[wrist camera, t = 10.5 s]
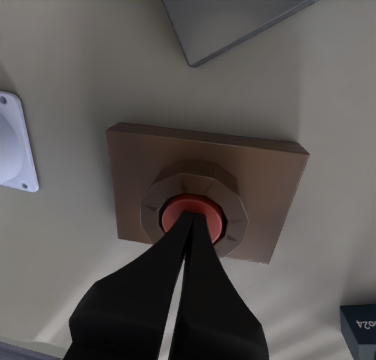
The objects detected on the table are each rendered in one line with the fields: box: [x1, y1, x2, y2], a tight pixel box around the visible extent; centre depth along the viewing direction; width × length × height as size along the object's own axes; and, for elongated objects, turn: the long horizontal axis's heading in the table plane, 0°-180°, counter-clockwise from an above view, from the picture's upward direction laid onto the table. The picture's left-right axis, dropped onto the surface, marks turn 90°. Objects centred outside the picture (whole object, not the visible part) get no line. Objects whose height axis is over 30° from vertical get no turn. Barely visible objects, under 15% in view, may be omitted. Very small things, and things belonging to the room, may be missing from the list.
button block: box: [106, 123, 309, 265], centre depth 14 cm, size 12×9×4 cm
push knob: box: [162, 193, 222, 243], centre depth 13 cm, size 4×4×2 cm
